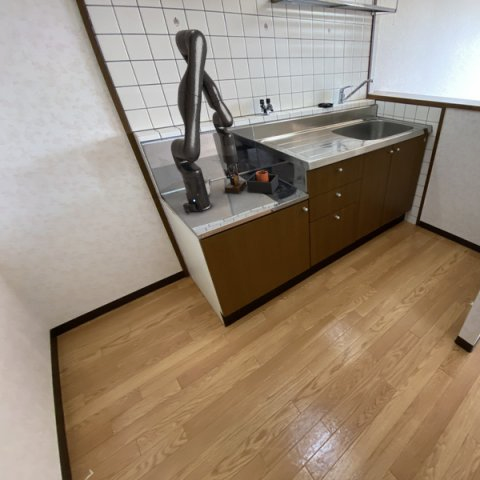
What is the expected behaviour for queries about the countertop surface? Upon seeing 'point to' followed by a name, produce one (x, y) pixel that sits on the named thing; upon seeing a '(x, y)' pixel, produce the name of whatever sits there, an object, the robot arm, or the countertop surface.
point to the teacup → (208, 185)
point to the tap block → (235, 187)
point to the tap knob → (236, 179)
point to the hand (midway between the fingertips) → (235, 182)
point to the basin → (262, 184)
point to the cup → (262, 176)
